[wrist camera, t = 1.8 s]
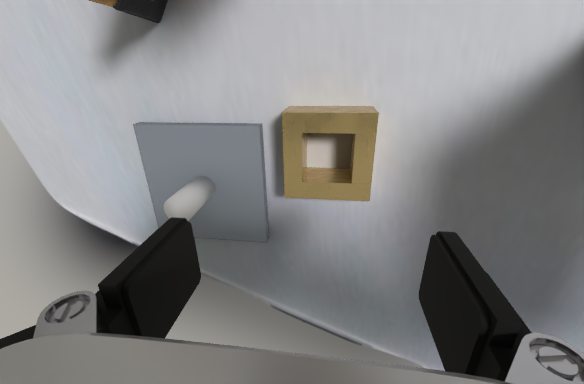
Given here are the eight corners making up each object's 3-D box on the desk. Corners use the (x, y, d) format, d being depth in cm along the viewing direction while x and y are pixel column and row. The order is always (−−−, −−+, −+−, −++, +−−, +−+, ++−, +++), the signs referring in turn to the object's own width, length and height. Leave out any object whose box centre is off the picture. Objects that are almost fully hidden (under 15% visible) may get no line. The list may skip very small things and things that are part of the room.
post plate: (262, 123, 25) (241, 139, 20) (268, 237, 30) (253, 275, 25) (139, 122, 27) (89, 136, 22) (165, 229, 32) (129, 263, 26)
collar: (373, 106, 23) (378, 112, 20) (365, 184, 26) (369, 201, 23) (289, 106, 24) (281, 112, 21) (290, 181, 27) (284, 197, 24)
